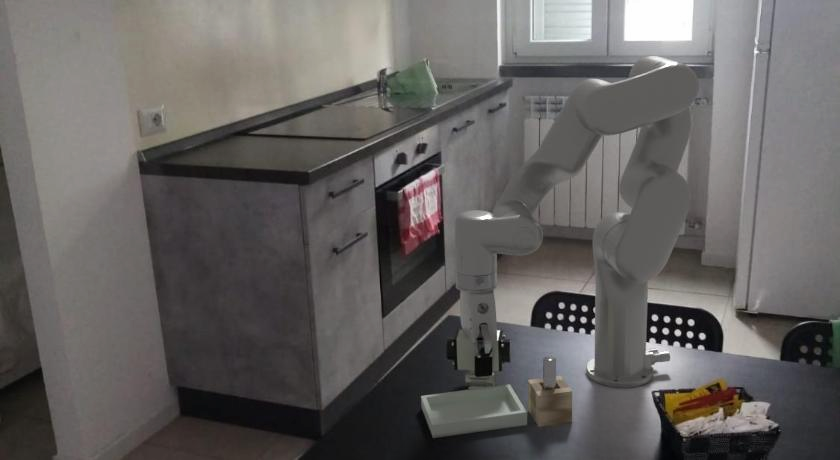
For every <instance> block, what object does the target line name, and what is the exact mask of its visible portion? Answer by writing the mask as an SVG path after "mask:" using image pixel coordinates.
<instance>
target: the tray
mask: <svg viewBox="0 0 840 460" xmlns="http://www.w3.org/2000/svg"><path fill="white" fill-rule="evenodd" d="M420 399H421V400H420V401H421V402H420V403H421V404H420V405H421V411H422V413H423V416H424V418H425V420H426V424H427V426H428V429H429V431H430V434H431V436H432V439H436V438H443V437H451V436H452V437H453V436H458V435H466V434H473V433H479V432H480V433H481V432H488V431H494V430H500V429H501V430H502V429H509V428H514V427H523V426H528V412H527V411H528V410H526V408H525V407H524V405H523V403H522V402H521V400H520V398H519V397H518V395H517V394H516V392H515V390H514V389H513V387H512V386H511V384H510V383H509V384H502V385H494V386H489V387H485V388H477V389H470V390H469V389H463V390H456V391H447V392H441V393H434V394H426V395H425V394H424V395H421V396H420Z"/></svg>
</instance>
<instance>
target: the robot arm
mask: <svg viewBox="0 0 840 460" xmlns="http://www.w3.org/2000/svg"><path fill="white" fill-rule="evenodd" d="M699 82H700V81H699V79H698V75H697V74H696V73H695V71H694V70H693V69H692V68H691V67H690V66H688V65H687V64H684V63H683V62H680V61H677V60H673V59H669V58H666V57H663V56H662V57H661V56H659V55H658V56H656V55H650V56H644V57H642V58H640V59H638V60H637V61H635V63H634V64H633V65H632V67H631V69H630V72H629V74H628V78H627V79H623V80H620V81H616V82H612V83H611V82H609V81H606V80H603V79H598V78H586V79H585V80H581V81H580V82H579V83H578V84H577V85H576V86H575V87H574V88H573V89H572V91H571V92H570V94H569V95H568V98H567V99H566V100H565V102H564V104H563V106H562V107H561V109H560V111H559V113H558V115H557V116H556V118H555V119H554V121H553V123H552V124H551V126H550V128H549V129H548V131H547V133H546V135H545V136H544V138H543V140H542V141H541V143H540V145H539V146H538V148H537V150H536V151H535V152H534V153H533V154H532V155H531V156H530V157H529V158H528V159H527V160H526V161H525V162H524V163H523V165H521V167H520V168H519V169H518V170H516V172H515V174H514V175H513V176H512V177H511V178H510V180H509V182H508V183H507V185H506V186H505V188H504V189H503V192H502V193H501V194H500V197H499V199H498V200H497V202H496V204H495V206H494V207H493V210H492V212H489V211H486V210H480V209H478V210H477V209H473V210H466V211H463V212H460V213H459V214H457V216H456V217H455V220H454V259H455V261H454V263H455V265H454V266H455V269H454V270H455V288H456V290H458V291H460V294H459V298H460V299H459V314H460V315H459V316H460V318H459V319H460V325H461V328H462V329H463V330H464V332H465V334H466V335H467V337H468V339H469V340H470V342H471V343H473V344H474V345H475V350H476V356H475V376H476V377H484V376H491V375H492V373H493V371H492V348H491V346H492V342H496V341H497V330H498V329H497V310H496V309H497V308H496V298H495V291H494V290H496V289H497V287H498V254H499V255H509V256H510V255H511V256H527V255H530V254H532V253H534V252H535V251H537V250H538V249H539V248H540V247H541V245H542V242H543V239H544V232H543V227H542V226H541V224H540V223H539V221H538V220H537V219H536V218H535V216H534V215H535V213H536V212H537V210H538V208H539V206H540V205H541V203H542V202H543V200H544V199H545V198H546V196H547V195H548V194H549V193H550V192H551V191H552V190H553V189H554V188H555V187H557V186H558V185H559V184H562V183H563V182H566V181H569V180H572V179H573V178H576V177H577V176H578V175H580V173H581V172H582V170H583V169H584V167H585V165H586V164H587V162H588V160H589V159H590V156H592V153H593V152H594V150H595V149H596V147H597V145H598V143H599V142H600V140H601V139H602V138H603V136H615V135H619V134H622V133H627V132H630V131H633V130H636V129H639V132H638V135H637V138H636V140H635V141H636V142H635V144H634V146H633V149H632V151H631V154H630V156H629V159H628V161H627V163H626V165H625V168H624V171H623V172H622V176H621V179H620V181H619V184H618V185H619V186H618V190H619V195H620V197H621V199H622V200H623V202H624V203H625V204H626V205H627V206H629V208H631V211H630V213H627V212H624V211H623V212H621V211H617V212H616V211H615V212H612V213H609V214H606V215H605V216H604V217H602V218H601V219H600V220H599V222H598V223H597V224H596V226H595V228H594V232H593V233H592V234H593V235H592V252H593V254H592V255H593V262H594V263H593V264H594V274H595V275H594V277H595V279H594V281H595V283H594V284H595V297H594V299H595V300H594V302H595V303H594V357H593V358H591V359H589V360H588V362H587V363H586V366H585V367H586V368H585V372H586V374H587V376H588V378H590V380H592V381H594V382H596V383H598V384H600V385H604V386H607V387H611V388H635V387H640V386H642V385H645V384H647V383H649V382H650V381H651V380H652V379H653V377H654V374H655V373H654V367H653V366H654V365H655V364H656V363H666V362H670V361H671V355H670V352H669V351H660V352H659V350H658V348H657V347H654V348H648V349H647V329H648V328H647V326H648V325H647V324H648V322H647V321H648V299H649V298H648V297H649V296H648V295H649V293H648V292H649V283H648V282H649V281H650V280H652V279H654V278H656V277H657V276H658V275H659V274H660V273H661V272H662V270H663V269H664V268H665V266H666V264H667V263H668V261H669V258H670V256H671V254H672V252H673V250H674V247H675V244H676V242H677V240H678V238H679V235H680V233H681V231H682V229H683V227H684V224H685V222H686V219H687V216H688V213H689V211H690V206H691V199H692V198H691V197H692V196H691V189H690V186H689V183H688V181H686V179H685V178H684V176H683V175H681V174H680V173H679V172H678V171H679V168H680V165H681V162H682V160H683V156H684V154H685V151H686V148H687V145H688V143H689V139H690V136H691V130H692V129H691V128H692V116H691V115H692V113H691V109H690V107H691V106H692V105H693V103H694V102H695V100H696V98H697V97H698V94H699V90H700V89H699V87H700V86H699V85H700V84H699ZM479 329H480V330H479ZM477 338H482V340H477ZM481 344H483V347H481V349H479V345H481Z"/></svg>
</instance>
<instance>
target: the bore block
mask: <svg viewBox="0 0 840 460" xmlns="http://www.w3.org/2000/svg"><path fill="white" fill-rule="evenodd" d="M527 405H528V407H527V411H528V412H529V413H530V415H531V417H532V419H533V421H534V422H535V424H536V425H537V426H538V428H541V427H549V426H550V427H551V426H555V425H562V424H569V423H573V390H572V389H571V388H570V386H569V385H568V383H566V381H565V380H564V378H563V377H562V376H561V375H556V389H552V390H545V391H544V390H543V377H541V378H540V377H539V378H534V379H533V378H532V379H528V380H527Z"/></svg>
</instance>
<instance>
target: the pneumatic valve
mask: <svg viewBox="0 0 840 460" xmlns="http://www.w3.org/2000/svg"><path fill="white" fill-rule="evenodd" d="M479 330H480V329H479ZM477 340H482V338H477ZM445 345H446V346H445V347H446V349H445V352H446V361H448V362H452V365H453V367H454V371H469V372H466V373H465V381H464V382H465V385H466V386H469V387H467V390H470V389H477V388H485V387H492V386H495V373H494V372H503V367H505V364H507V363H508V364H509V363H512V339H511V338H506V335H505V334H504V330H502V329H501V330H500V329H499V330H498V329H497V341H496V342H492V346H491V348H492V375H491V376H484V377H476V376H475V356H476V350H475V345H474V344H473V343H471V342H470V340H469V339H468V337H467V335H466V334H465V332H464V330H463V329H458V328H456V330H455V334H454V335H453V337H447V339H446V344H445ZM481 347H483V344H481V345H479V349H481Z"/></svg>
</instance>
